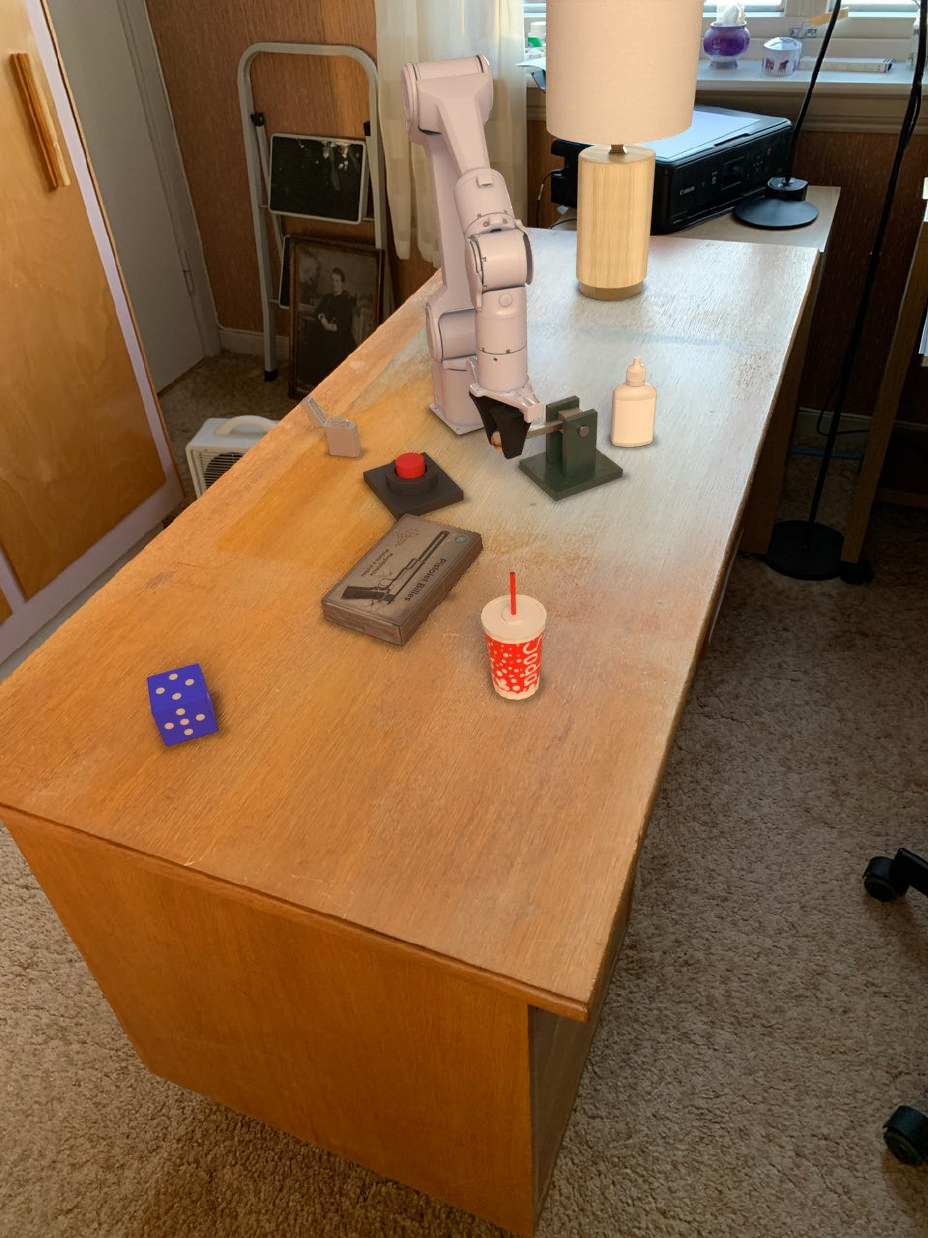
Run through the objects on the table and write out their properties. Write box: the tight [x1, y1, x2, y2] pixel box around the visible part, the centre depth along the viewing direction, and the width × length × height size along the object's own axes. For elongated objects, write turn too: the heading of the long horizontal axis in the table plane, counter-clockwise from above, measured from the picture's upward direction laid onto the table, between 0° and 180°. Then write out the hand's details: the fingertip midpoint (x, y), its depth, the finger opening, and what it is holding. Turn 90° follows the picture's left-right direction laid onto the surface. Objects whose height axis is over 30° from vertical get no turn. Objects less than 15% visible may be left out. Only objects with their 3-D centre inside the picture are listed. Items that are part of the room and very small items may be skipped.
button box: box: [362, 451, 465, 521], centre depth 116 cm, size 11×9×3 cm
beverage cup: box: [480, 571, 548, 701], centre depth 86 cm, size 6×6×14 cm
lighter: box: [299, 394, 362, 458], centre depth 123 cm, size 7×2×8 cm, turn 74°
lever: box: [491, 407, 584, 454], centre depth 111 cm, size 12×3×3 cm, turn 118°
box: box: [319, 513, 484, 647], centre depth 101 cm, size 11×17×3 cm, turn 149°
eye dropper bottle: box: [609, 356, 658, 448], centre depth 119 cm, size 4×6×12 cm
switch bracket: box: [518, 394, 624, 502], centre depth 115 cm, size 10×9×9 cm
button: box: [394, 451, 425, 478], centre depth 115 cm, size 4×4×2 cm
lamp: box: [545, 0, 705, 301], centre depth 146 cm, size 23×23×44 cm
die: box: [146, 662, 219, 747], centre depth 88 cm, size 5×5×5 cm
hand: (505, 449), depth 111 cm, fingers closed on lever, 3 cm apart
